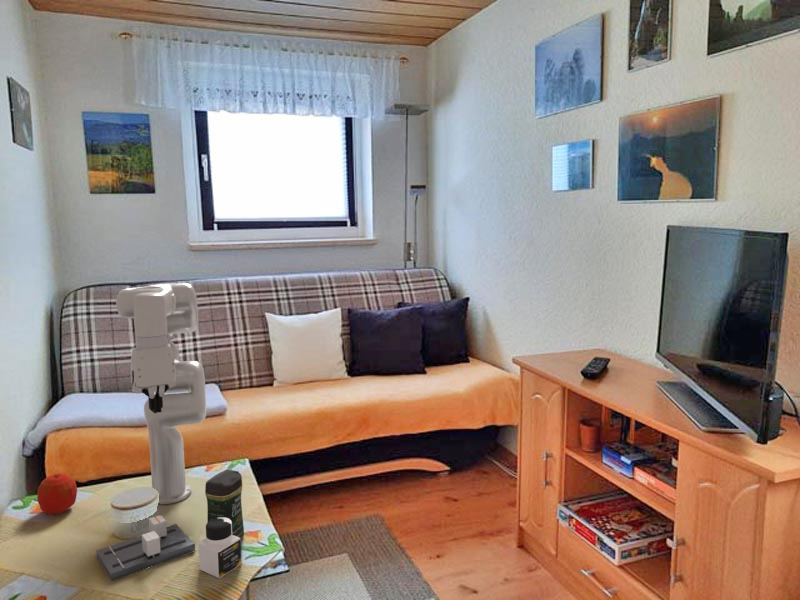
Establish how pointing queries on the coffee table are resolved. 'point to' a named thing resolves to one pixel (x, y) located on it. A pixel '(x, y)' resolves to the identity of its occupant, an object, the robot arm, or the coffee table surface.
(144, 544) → the fader
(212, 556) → the medicine bottle
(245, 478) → the coffee table surface
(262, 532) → the coffee table surface
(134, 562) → the console
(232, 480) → the coffee jar
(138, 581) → the coffee table surface
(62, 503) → the apple
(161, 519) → the fader
